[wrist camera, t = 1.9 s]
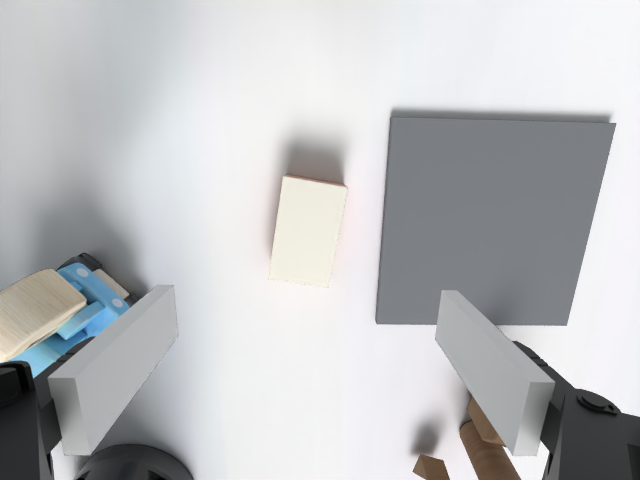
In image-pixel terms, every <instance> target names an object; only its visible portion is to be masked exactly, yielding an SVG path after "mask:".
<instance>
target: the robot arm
mask: <svg viewBox="0 0 640 480" xmlns="http://www.w3.org/2000/svg"><path fill="white" fill-rule="evenodd" d="M177 337H178V326H177V315H176V305H175V294H174V285H157V286H156V287H154V288H153V289H152V290H151V291H150V292H148V293H147V294H146V295H145V296H144V297H143V298H141V299H140V300H139V301H138V302H137V303H135V304H134V305H133V306H132V307H131V308H129V309H128V310H127V311H126V312H125V313H124V314H122V315H121V316H120V317H119V318H118V319H116V320H115V321H114V322H113V323H112V324H110V325H109V326H108V327H107V328H106V329H104V330H103V331H102V332H101V333H100V334H99V335H97V336H91V337H89V338H87V339H85V340H83V341H81V342H79V343H77V344H76V345H74V346H73V347H72V348H71V349H69V350H68V351H67V352H66V353H65V355H62V356H61V357H60V358H58V359H57V360H56V362H53V363H52V364H51V365H50V366H48V367H47V368H46V369H45V370H43V371H42V372H41V373H40V374H38V375H37V376H36V377H35V378H33V375H32V371H31V367H30V364H29V363H28V362H26V361H22V360H20V361H9V362H4V363H0V480H54V471H53V460H52V456H51V452H50V451H51V450H52V449H53V448H54V447H55V446H56V445H57V444H58V442H59V441H60V440H61V442H62V446H63V451H64V455H91V454H92V452H93V451H94V450H95V448H96V447H97V446H98V444H99V443H100V441H101V440H102V439H103V437H104V436H105V435H106V433H107V432H108V431H109V429H110V428H111V427H112V425H113V424H114V422H115V421H116V420H117V418H118V417H119V416H120V414H121V413H122V412H123V410H124V409H125V408H126V406H127V405H128V403H129V402H130V401H131V399H132V398H133V397H134V395H135V394H136V393H137V391H138V390H139V389H140V387H141V386H142V385H143V383H144V382H145V380H146V379H147V378H148V376H149V375H150V374H151V372H152V371H153V370H154V368H155V367H156V366H157V364H158V363H159V361H160V360H161V359H162V357H163V356H164V355H165V353H166V352H167V351H168V349H169V348H170V347H171V345H172V344H173V343H174V341H175V340H176V338H177ZM435 340H436V342H437V343H438V345H439V346H440V348H441V349H442V351H443V352H444V354H445V355H446V357H447V358H448V360H449V361H450V363H451V364H452V366H453V367H454V369H455V370H456V372H457V373H458V375H459V376H460V378H461V379H462V381H463V382H464V384H465V385H466V387H467V388H468V390H469V391H470V393H471V394H472V396H473V397H474V399H475V400H476V402H477V403H478V405H479V406H480V408H481V409H482V411H483V412H484V414H485V415H486V417H487V418H488V420H489V421H490V423H491V424H492V426H493V427H494V429H495V430H496V432H497V433H498V435H499V436H500V438H501V439H502V441H503V442H504V444H505V445H506V447H507V448H508V450H509V451H510V453H511V454H512V456H537V452H538V448H539V444H540V440H541V441H542V442H543V444H544V445H545V446H546V447H547V449H548V450H549V451H550V452H549V456H548V460H547V463H546V467H545V471H544V474H543V478H542V480H640V417H638V416H633V415H629V414H624V413H621V411H620V410H619V409H618V408H617V407H616V406H615V405H614V404H613V403H612V402H610V401H609V400H607V399H605V398H604V397H602V396H600V395H598V394H595V393H593V392H590V391H586V390H583V389H575V388H574V387H573V386H572V385H571V384H570V383H568V382H567V381H566V380H565V379H564V378H563V377H562V376H560V375H559V374H558V373H557V372H556V371H555V370H554V369H553V368H551V367H550V366H548V364H547V363H546V362H545V361H544V360H542V359H540V357H539V356H538V355H537V354H536V353H535V352H533V351H532V350H531V349H530V348H528V347H526V346H525V345H523V344H521V343H519V342H517V341H511V340H510V339H509V338H508V337H506V336H505V335H504V334H503V333H502V332H501V331H500V330H499V329H498V328H497V327H496V326H495V325H494V324H493V323H491V322H490V321H489V320H488V319H487V318H486V317H485V316H484V315H483V314H482V313H481V312H480V311H479V310H478V309H476V308H475V307H474V306H473V305H472V304H471V303H470V302H469V301H468V300H467V299H466V298H465V297H464V296H463V295H461V294H460V293H459V292H458V291H457V290H442V292H441V299H440V306H439V313H438V320H437V328H436V335H435ZM74 480H192V477H191V476H190V474H189V472H188V471H187V470H186V468H185V467H184V466H183V465H182V464H181V463H180V462H179V461H177V460H176V459H175V458H173V457H172V456H170V455H169V454H167V453H165V452H163V451H160V450H158V449H155V448H151V447H147V446H142V445H119V446H114V447H110V448H107V449H104V450H102V451H100V452H98V453H96V454H95V455H94V456H92V457H91V458H90V459H89V460H88V461H87V462H86V463H85V464H84V466H83V467H82V469H81V470H80V471H79V473H78V474H77V475H76V477H75V478H74Z"/></svg>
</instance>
